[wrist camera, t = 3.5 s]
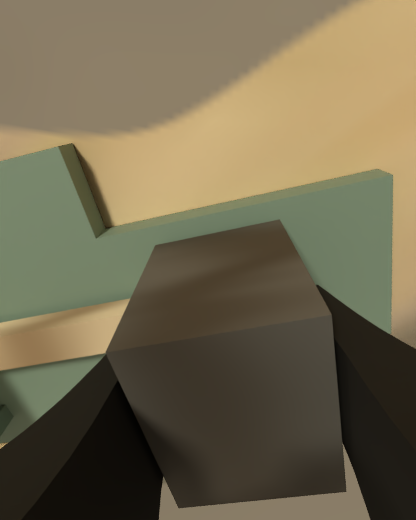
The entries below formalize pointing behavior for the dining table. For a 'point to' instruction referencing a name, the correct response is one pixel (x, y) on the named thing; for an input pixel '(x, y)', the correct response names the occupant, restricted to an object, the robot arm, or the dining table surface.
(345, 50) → the dining table surface
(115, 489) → the robot arm
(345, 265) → the green long flat piece
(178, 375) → the block ended dumbbell
